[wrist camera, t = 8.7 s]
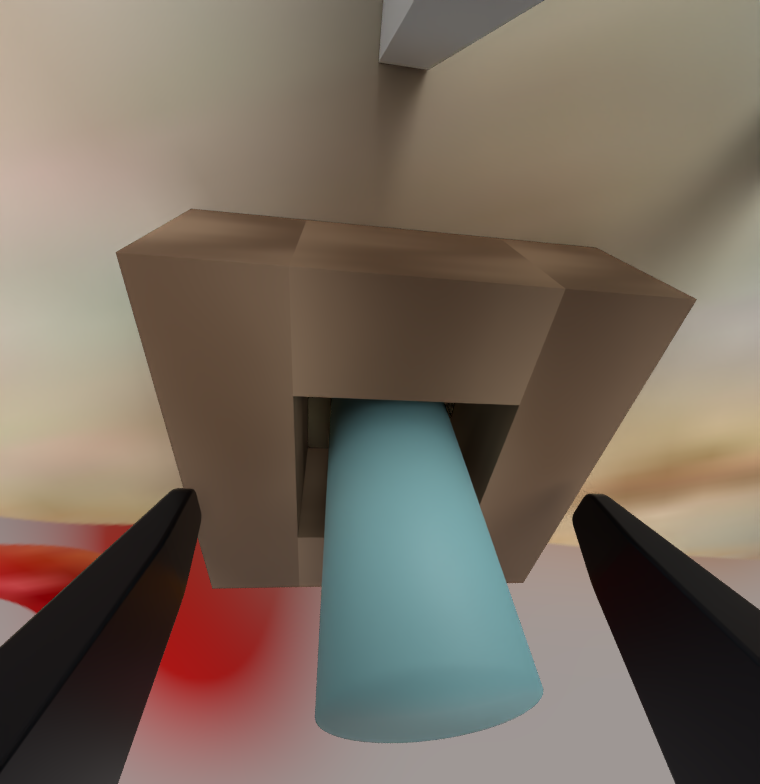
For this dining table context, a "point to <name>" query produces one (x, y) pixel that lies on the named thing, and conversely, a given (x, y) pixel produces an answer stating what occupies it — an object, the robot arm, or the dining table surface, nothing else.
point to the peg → (411, 586)
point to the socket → (383, 368)
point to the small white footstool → (440, 27)
